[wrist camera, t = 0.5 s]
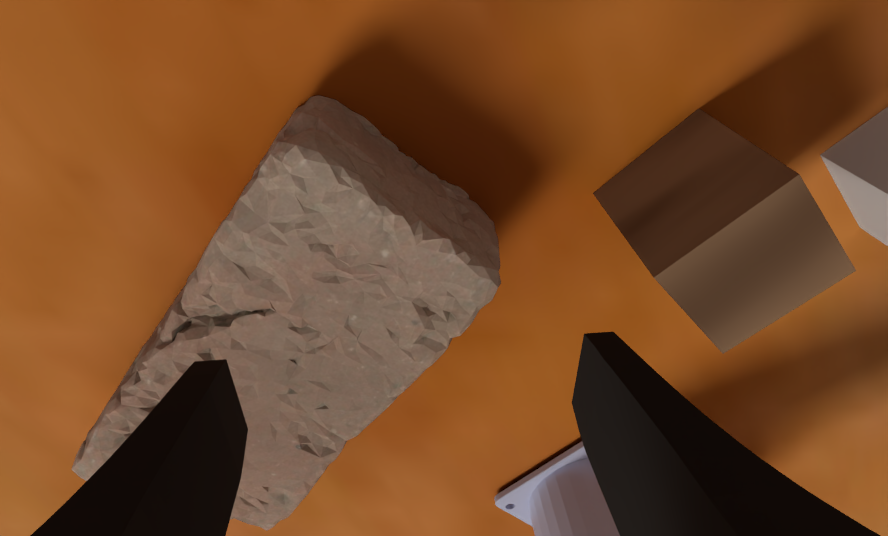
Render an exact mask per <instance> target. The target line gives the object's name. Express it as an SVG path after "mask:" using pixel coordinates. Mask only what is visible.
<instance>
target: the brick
mask: <svg viewBox="0 0 888 536" xmlns="http://www.w3.org/2000/svg"><path fill="white" fill-rule="evenodd" d="M499 269H500V258H499V246H498V237H497V234H496V233H495V225H494V222H493V221H492V220H490V219H489V217H488V216H487V215H486V213H485V212H484V211H483V210H482V209H481V208H480V207H479V206H478V204H477V203H475V202H474V201H472V200H470V199H469V195H468V194H467V193H466V192H465V191H464V190H463V189H461V188H460V187H458V186H455V185H453V184H450V183H448V182H447V181H445V180H440V179H439V178H438V177H437V176H436V175H435V174H432V173H430V172H429V171H427V170H426V169H425V168H424V167H422V166H421V165H419V164H418V163H417V162H416V161H415V160H414V159H413V158H412V157H408V156H406V155H405V154H404V153H403V152H400V151H399V150H398V147H397V146H396V145H395V144H394V143H393V142H391V141H390V140H388V139H387V138H385V137H384V136H382V134H381V133H380V132H379V130H378V129H377V128H376V127H375V126H374V125H373V124H372V123H370V122H369V121H368V120H367V119H366V118H365V117H363V116H361V115H359V114H357V113H355V112H353V111H351V110H350V109H349V108H347V107H346V106H344V105H343V104H341V103H340V102H338V101H337V100H335V99H331V98H327V97H323V96H319V95H318V96H313V97H311V98H309V100H308V101H307V102H306V103H305V105H302V106H300V107H298V108H297V109H295V111H294V113H293V114H292V116H291V117H290V119H289V121H288V122H287V124H286V125H285V126H284V127H283V129H282V130H281V131H280V132H279V133H278V135H277V137H276V138H275V140H274V142H273V144H272V145H271V147H270V149H269V150H268V152H267V153H266V155H265V156H264V158H263V159H262V160H261V162H260V164H259V165H258V167H257V168H256V170H255V171H254V174H253V177H252V179H251V181H250V182H249V183H248V184H247V185H246V186H245V188H244V190H243V192H242V194H241V196H240V198H239V199H238V201H237V202H236V203H235V205H234V207H233V208H232V210H231V212H230V214H229V215H228V217H227V218H226V219H225V220H224V221H223V222H222V223H221V225H220V226H219V228H218V230H217V231H216V233H215V234H214V236H213V238H212V239H211V241H210V243H209V245H208V246H207V248H206V250H205V251H204V253H203V255H202V257H201V259H200V262H199V264H198V266H197V268H196V269H195V270H194V271H193V272H192V274H191V275H190V276H189V277H188V280H187V283H186V285H185V286H184V288H183V289H182V290H181V292H180V293H179V295H178V296H177V297H176V299H175V301H174V303H173V304H172V305H171V307H170V308H169V309H168V311H167V312H166V314H165V316H164V318H163V319H162V321H161V322H160V323H159V325H158V326H157V327H156V329H155V331H154V332H153V334H152V336H151V337H150V338H149V340H148V341H147V342H146V343H145V344H144V346H143V347H142V349H141V351H140V352H139V354H138V356H137V357H136V359H135V361H134V362H133V364H132V365H131V367H130V369H129V370H128V372H127V373H126V375H125V376H124V378H123V380H122V381H121V383H120V385H119V386H118V388H117V390H116V391H115V393H114V394H113V396H112V397H111V398H110V400H109V402H108V403H107V405H106V407H105V408H104V410H103V412H102V413H101V415H100V416H99V418H98V420H97V422H96V423H95V425H94V426H93V427H92V428H91V430H90V431H89V432H88V434H87V437H86V440H85V441H84V442H83V444H82V445H81V447H80V449H79V451H78V453H77V455H76V458H75V461H74V464H73V467H72V470H73V471H74V472H75V473H76V474H77V475H78V476H79V477H80V478H82V479H84V480H86V481H87V480H88V479H89V478H90V477H91V476H92V475H93V474H94V473H95V472H96V471H97V470H98V469H99V468H100V467H101V466H102V465H103V464H104V463H105V462H106V461H107V460H108V459H109V458H110V457H111V456H112V454H113V453H114V452H115V451H116V450H117V449H118V448H119V447H120V446H121V445H122V443H123V442H124V441H125V440H126V439H127V438H128V437H129V436H130V435H131V433H132V432H133V431H134V430H135V429H136V428H137V427H138V426H139V425H140V423H141V422H142V421H143V420H144V419H145V418H146V417H147V415H148V414H149V413H150V412H151V411H152V410H153V409H154V407H155V406H156V405H157V404H158V403H159V402H160V400H161V399H162V398H163V397H164V396H165V395H166V393H167V392H168V391H169V390H170V389H171V388H172V386H173V385H174V384H175V383H176V382H177V381H178V379H179V378H180V377H181V376H182V375H183V374H184V373H185V371H186V370H187V369H188V368H189V367H190V366H191V365H192V364H193V363H194V362H195V361H209V360H223V359H226V360H227V363H228V366H229V369H230V373H231V376H232V379H233V382H234V385H235V389H236V392H237V395H238V398H239V401H240V405H241V408H242V411H243V414H244V417H245V421H246V424H247V427H248V433H247V441H246V448H245V455H244V462H243V468H242V474H241V480H240V483H239V487H238V491H237V495H236V498H235V502H234V506H233V509H232V513H231V517H230V519H233V518H235V519H237V520H240V521H242V522H245V523H247V524H251V525H255V526H259V527H261V528H263V529H265V530H266V531H267V530H269V529H271V528H272V527H274V526H275V525H276V524H277V523H278V522H279V521H280V520H283V519H285V518H287V517H289V516H290V514H291V513H292V512H293V511H294V510H295V508H296V507H297V506H298V505H299V503H300V502H301V501H302V500H303V499H304V498H305V497H306V495H307V494H308V493H309V491H310V490H311V489H312V487H313V486H314V485H315V483H316V482H317V481H318V479H319V478H320V477H321V475H322V474H323V473H324V471H325V470H326V468H327V467H328V465H329V464H330V463H331V462H333V461H334V460H335V459H336V458H337V457H338V455H339V454H340V452H341V451H342V449H343V447H344V445H345V443H346V442H347V440H349V439H351V438H353V437H356V436H357V435H358V434H359V433H360V432H361V431H362V430H363V429H364V428H366V427H367V426H368V425H369V424H370V423H371V422H372V421H374V420H375V419H376V418H377V417H378V416H379V415H380V414H381V413H382V412H383V411H384V410H386V409H387V408H388V407H389V406H390V405H391V404H392V403H393V401H394V400H395V399H396V398H397V397H398V396H399V395H400V394H401V393H402V392H404V391H405V390H406V389H407V388H408V387H409V386H410V385H411V384H412V383H413V382H414V381H415V380H416V379H417V378H418V377H419V376H420V375H421V374H422V373H423V372H424V371H425V370H426V369H427V368H428V367H430V366H431V365H432V364H433V363H434V362H435V361H436V360H437V359H438V358H439V357H440V356H441V355H442V354H443V353H444V352H445V351H446V349H447V348H448V346H449V344H450V342H451V340H452V338H453V337H457V336H461V334H462V333H463V332H464V331H465V330H466V329H467V328H468V327H469V325H470V324H471V323H472V321H473V320H474V318H475V316H476V315H477V313H478V311H479V310H480V309H481V308H482V307H483V306H485V305H486V304H487V303H489V302H490V301H491V300H492V299H493V297H494V295H495V293H496V291H497V288H498V287H499V285H500V284H501V280H500V276H499V272H498V271H499Z"/></svg>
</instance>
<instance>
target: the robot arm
mask: <svg viewBox="0 0 888 536" xmlns="http://www.w3.org/2000/svg"><path fill="white" fill-rule="evenodd" d="M572 405H573V409H574V413H575V417H576V420H577V424H578V428H579V432H580V435H581V439H582V441H581V442H580V443H578V444H577V445H575V446H573V447H572V448H570V449H569V450H567V451H565V452H564V453H562V454H561V455H559V456H557V457H556V458H554V459H553V460H551V461H549V462H548V463H546V464H545V465H543V466H541V467H540V468H538V469H537V470H535V471H533V472H532V473H530V474H529V475H527V476H525V477H524V478H522V479H521V480H519V481H517V482H516V483H514V484H513V485H511V486H509V487H508V488H506V489H505V490H503V491H502V492H500V493H498V494H497V495H496V496H495V504H496V506H497V507H499V508H501V509H502V510H504V511H506V512H508V513H509V514H511V515H513V516H515V517H517V518H518V519H520V520H522V521H524V522H525V523H527V524H529V525H531V526H532V527H533V529H534V533H535V536H880V535H878V534H877V533H875V532H873V531H871V530H870V529H868V528H866V527H865V526H863V525H861V524H860V523H858V522H856V521H855V520H853V519H851V518H850V517H848V516H847V515H845V514H843V513H842V512H840V511H838V510H837V509H835V508H834V507H832V506H830V505H829V504H827V503H825V502H824V501H822V500H821V499H819V498H818V497H816V496H815V495H813V494H811V493H810V492H808V491H807V490H805V489H804V488H802V487H801V486H799V485H798V484H796V483H795V482H793V481H792V480H791V479H789V478H788V477H786V476H785V475H783V474H782V473H781V472H779V471H778V470H776V469H775V468H773V467H772V466H771V465H769V464H768V463H766V462H765V461H763V460H762V459H761V458H759V457H758V456H756V455H755V454H754V453H752V452H751V451H750V450H748V449H747V448H746V447H744V446H743V445H742V444H740V443H739V442H738V441H737V440H735V439H734V438H733V437H732V436H730V435H729V434H728V433H727V432H725V431H724V430H723V429H722V428H720V427H719V426H718V425H717V424H715V423H714V422H713V421H712V420H710V419H709V418H708V417H707V416H706V415H704V414H703V413H702V412H701V411H700V410H698V409H697V408H696V407H695V406H694V405H693V404H691V403H690V402H689V401H688V400H687V399H686V398H685V397H683V396H682V395H681V394H680V393H679V392H678V391H677V390H675V389H674V388H673V387H672V386H671V385H670V384H669V383H668V382H667V381H665V380H664V379H663V378H662V377H661V376H660V375H659V374H658V373H657V372H656V371H655V370H654V369H652V368H651V367H650V366H649V365H648V364H647V363H646V362H645V361H644V360H643V359H642V358H641V357H640V356H639V355H637V354H636V353H635V352H634V351H633V350H632V349H631V348H630V347H629V346H628V345H627V344H626V343H625V342H624V341H623V340H621V339H620V338H619V337H618V336H617V335H616V334H615V333H614V332H602V333H588V334H584V338H583V343H582V349H581V355H580V360H579V366H578V371H577V377H576V383H575V388H574V394H573V399H572ZM247 433H248V427H247V424H246V421H245V417H244V414H243V411H242V408H241V405H240V401H239V398H238V395H237V392H236V389H235V385H234V382H233V379H232V376H231V373H230V369H229V366H228V363H227V360H226V359H223V360H209V361H195V362H194V363H193V364H192V365H191V366H190V367H189V368H188V369H187V370H186V371H185V373H184V374H183V375H182V376H181V377H180V378H179V379H178V381H177V382H176V383H175V384H174V385H173V386H172V388H171V389H170V390H169V391H168V392H167V393H166V395H165V396H164V397H163V398H162V399H161V400H160V402H159V403H158V404H157V405H156V406H155V407H154V409H153V410H152V411H151V412H150V413H149V414H148V415H147V417H146V418H145V419H144V420H143V421H142V422H141V423H140V425H139V426H138V427H137V428H136V429H135V430H134V431H133V432H132V433H131V435H130V436H129V437H128V438H127V439H126V440H125V441H124V442H123V443H122V445H121V446H120V447H119V448H118V449H117V450H116V451H115V452H114V453H113V454H112V456H111V457H110V458H109V459H108V460H107V461H106V462H105V463H104V464H103V465H102V466H101V467H100V468H99V469H98V470H97V471H96V472H95V473H94V474H93V475H92V476H91V477H90V478H89V479H88V480H87V481H86V482H85V483H84V485H83V486H82V487H81V488H80V489H79V490H78V491H77V492H76V493H75V494H74V495H73V496H72V497H71V498H70V499H69V500H68V501H67V502H66V503H65V504H64V505H63V506H62V507H61V508H60V509H58V510H57V511H56V512H55V513H54V514H53V515H52V516H51V517H50V518H49V519H48V520H47V521H46V522H45V523H44V524H43V525H42V526H41V527H39V528H38V529H37V530H36V531H35V532H34V533H33V534H32V535H31V536H225V535H226V531H227V528H228V524H229V520H230V517H231V513H232V509H233V506H234V502H235V498H236V495H237V491H238V487H239V483H240V480H241V474H242V468H243V462H244V455H245V448H246V441H247Z"/></svg>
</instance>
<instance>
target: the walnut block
mask: <svg viewBox="0 0 888 536" xmlns="http://www.w3.org/2000/svg"><path fill="white" fill-rule="evenodd" d="M593 194H594V196H595V197H596V198H597V200H598V201H599V202H600V204H601V205H602V207H603V208H604V209H605V211H606V212H607V214H608V215H609V216H610V218H611V219H612V220H613V222H614V223H615V225H616V226H617V227H618V229H619V230H620V231H621V233H622V234H623V236H624V237H625V238H626V240H627V241H628V242H629V244H630V245H631V247H632V248H633V249H634V251H635V252H636V254H637V255H638V256H639V258H640V259H641V260H642V262H643V263H644V265H645V266H646V267H647V269H648V270H649V271H650V273H651V274H652V276H653V277H654V278H655V279H656V280H657V282H658V283H659V284H660V285H661V286H662V287H663V288H664V289H665V290H666V291H667V293H668V294H669V295H670V296H671V297H672V298H673V299H674V300H675V301H676V302H677V304H678V305H679V306H680V307H681V308H682V309H683V310H684V311H685V312H686V313H687V315H688V316H689V317H690V318H691V319H692V320H693V321H694V322H695V323H696V325H697V326H698V327H699V328H700V329H701V330H702V331H703V332H704V333H705V334H706V336H707V337H708V338H709V339H710V340H711V341H712V342H713V343H714V344H715V345H716V347H717V348H718V349H719V350H720V351H721V352H722V353H725V352H726V351H728V350H730V349H731V348H733V347H734V346H736V345H738V344H739V343H741V342H742V341H744V340H746V339H747V338H749V337H750V336H752V335H754V334H755V333H757V332H758V331H760V330H762V329H763V328H765V327H767V326H768V325H770V324H771V323H773V322H775V321H776V320H778V319H779V318H781V317H783V316H784V315H786V314H787V313H789V312H791V311H792V310H794V309H795V308H797V307H799V306H800V305H802V304H803V303H805V302H807V301H808V300H810V299H811V298H813V297H815V296H816V295H818V294H819V293H821V292H823V291H824V290H826V289H827V288H829V287H831V286H832V285H834V284H835V283H837V282H839V281H840V280H842V279H843V278H845V277H847V276H848V275H850V274H851V273H853V272H855V271H856V270H855V268H854V266H853V265H852V263H851V261H850V259H849V258H848V256H847V254H846V253H845V251H844V249H843V248H842V246H841V244H840V243H839V241H838V239H837V237H836V236H835V234H834V232H833V231H832V229H831V227H830V226H829V224H828V222H827V220H826V219H825V217H824V215H823V214H822V212H821V210H820V209H819V207H818V205H817V204H816V202H815V200H814V198H813V197H812V195H811V193H810V192H809V190H808V188H807V187H806V185H805V183H804V182H803V180H802V178H801V176H800V175H799V174H798V173H796V172H795V171H793V170H792V169H790V168H789V167H787V166H786V165H784V164H783V163H781V162H780V161H778V160H777V159H775V158H774V157H772V156H771V155H769V154H768V153H766V152H764V151H763V150H761V149H760V148H758V147H757V146H755V145H754V144H752V143H751V142H749V141H748V140H746V139H745V138H743V137H742V136H740V135H739V134H737V133H736V132H734V131H733V130H731V129H730V128H728V127H727V126H725V125H723V124H722V123H720V122H719V121H717V120H716V119H714V118H713V117H711V116H710V115H708V114H707V113H705V112H704V111H702V110H701V109H697V110H696V111H695V112H694V113H692V114H691V115H690V116H689V117H687V118H686V119H685V120H684V121H682V122H681V123H680V124H679V125H678V126H676V127H675V128H674V129H673V130H671V131H670V132H669V133H668V134H666V135H665V136H664V137H663V138H661V139H660V140H659V141H658V142H656V143H655V144H654V145H653V146H651V147H650V148H649V149H648V150H646V151H645V152H644V153H643V154H641V155H640V156H639V157H638V158H636V159H635V160H634V161H633V162H631V163H630V164H629V165H628V166H626V167H625V168H624V169H623V170H621V171H620V172H619V173H618V174H617V175H615V176H614V177H613V178H612V179H610V180H609V181H608V182H607V183H605V184H604V185H603V186H602V187H600V188H599V189H598V190H597V191H595V192H594V193H593Z"/></svg>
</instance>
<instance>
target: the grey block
mask: <svg viewBox="0 0 888 536" xmlns="http://www.w3.org/2000/svg"><path fill="white" fill-rule="evenodd" d="M820 156H821V158H822V159H823V161H824V163H825V165H826V167H827V169H828V170H829V172H830V174H831V176H832V178H833V179H834V181H835V183H836V185H837V187H838V189H839V190H840V192H841V194H842V196H843V198H844V199H845V201H846V203H847V205H848V207H849V209H850V210H851V212H852V214H853V216H854V218H855V220H856V221H857V223H858V225H859V227H860V228H862V229H863V230H865V231H866V232H867V233H869V234H870V235H872V236H873V237H875V238H876V239H878V240H879V241H881V242H882V243H884V244H885V245H887V246H888V107H887V108H885V109H884V110H882V111H881V112H880V113H878V114H877V115H875V116H874V117H873V118H871V119H870V120H868V121H867V122H866V123H864V124H863V125H861V126H860V127H859V128H857V129H856V130H854V131H853V132H852V133H850V134H849V135H847V136H846V137H845V138H843V139H842V140H840V141H839V142H838V143H836V144H835V145H833V146H832V147H831V148H829V149H828V150H826V151H825V152H824V153H822V154H821V155H820Z"/></svg>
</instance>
